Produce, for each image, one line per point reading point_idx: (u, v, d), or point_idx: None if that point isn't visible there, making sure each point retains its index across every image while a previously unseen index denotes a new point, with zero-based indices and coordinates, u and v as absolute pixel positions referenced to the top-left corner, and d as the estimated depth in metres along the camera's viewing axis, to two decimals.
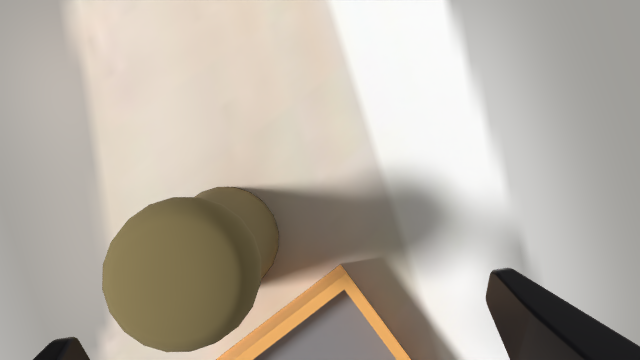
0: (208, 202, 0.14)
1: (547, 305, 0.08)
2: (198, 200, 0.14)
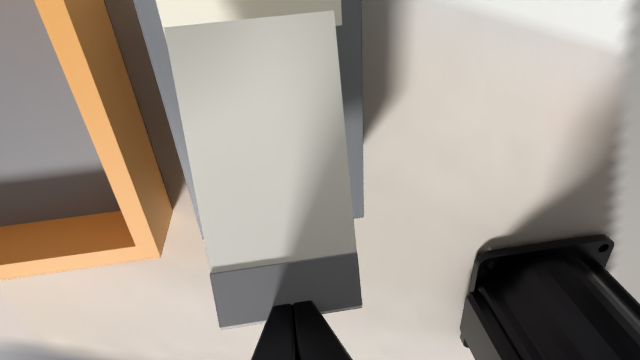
0: None
1: (316, 344, 0.07)
2: None
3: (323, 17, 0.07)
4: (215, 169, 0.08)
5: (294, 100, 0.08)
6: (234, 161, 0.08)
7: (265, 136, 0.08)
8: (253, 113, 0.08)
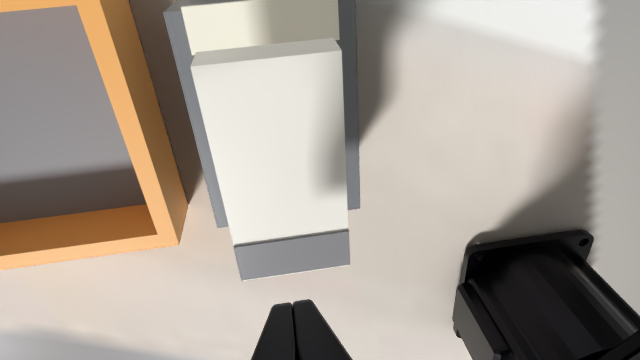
0: None
1: (316, 344, 0.07)
2: None
3: (331, 56, 0.08)
4: (237, 175, 0.10)
5: (304, 123, 0.09)
6: (252, 169, 0.10)
7: (278, 150, 0.09)
8: (268, 133, 0.09)
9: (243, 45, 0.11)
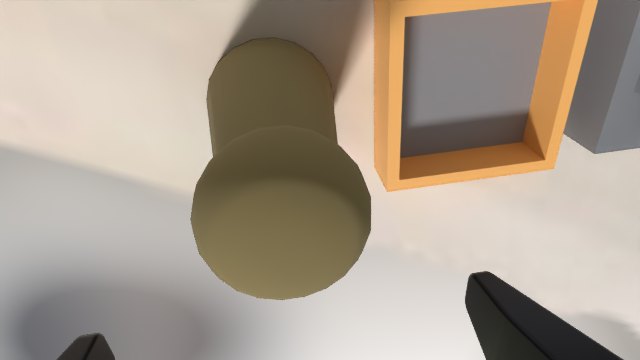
0: (219, 165, 0.11)
1: (522, 309, 0.08)
2: (210, 175, 0.11)
3: None
4: None
5: None
6: None
7: None
8: None
9: None
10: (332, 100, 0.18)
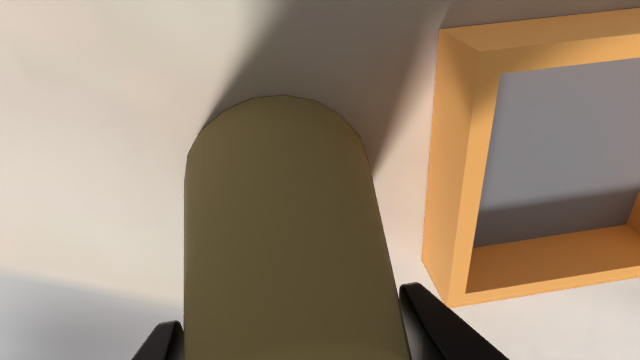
0: None
1: (441, 323, 0.08)
2: None
3: None
4: None
5: None
6: None
7: None
8: None
9: None
10: (374, 191, 0.12)
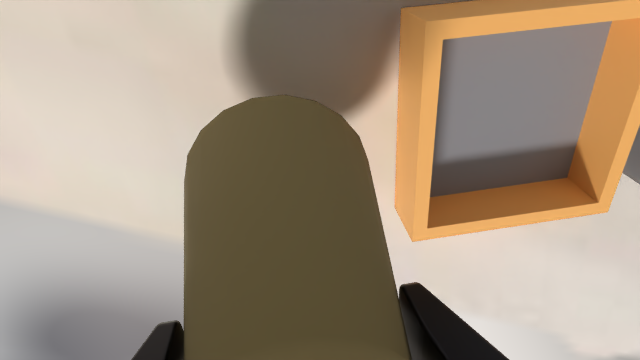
0: None
1: (441, 323, 0.08)
2: None
3: None
4: None
5: None
6: None
7: None
8: None
9: None
10: (374, 191, 0.12)
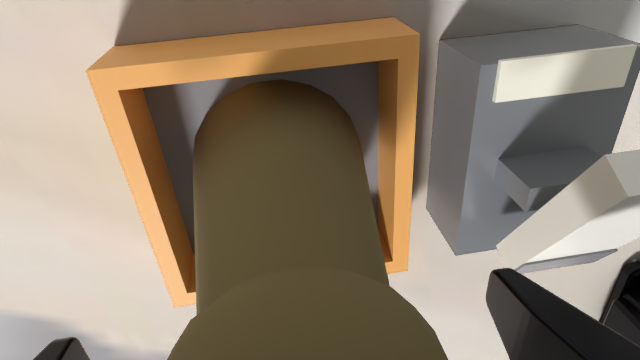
0: None
1: (547, 305, 0.08)
2: None
3: None
4: (577, 237, 0.11)
5: None
6: (593, 234, 0.11)
7: (626, 224, 0.10)
8: (633, 218, 0.10)
9: (537, 92, 0.12)
10: (364, 164, 0.13)
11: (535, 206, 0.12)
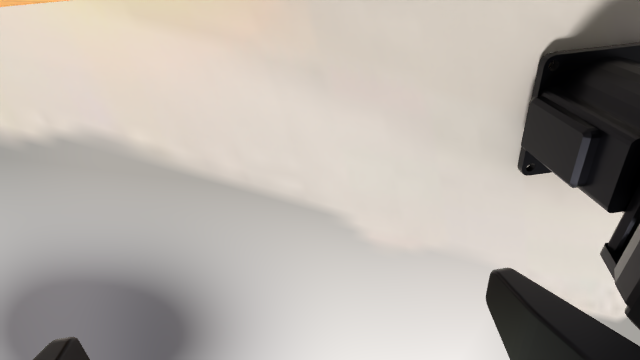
0: None
1: (547, 305, 0.08)
2: None
3: None
4: None
5: None
6: None
7: None
8: None
9: None
10: None
11: None
